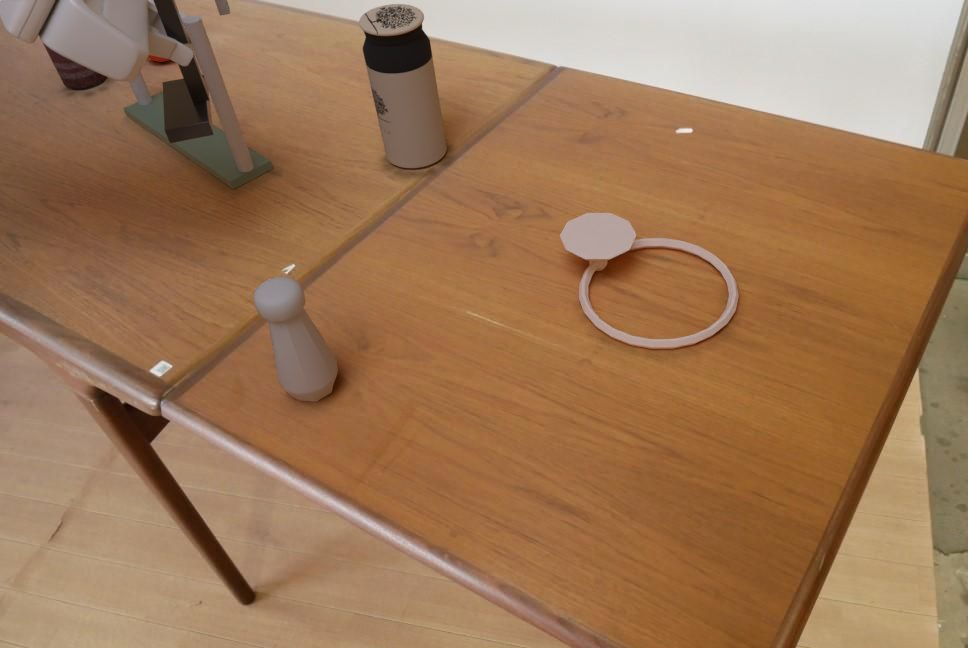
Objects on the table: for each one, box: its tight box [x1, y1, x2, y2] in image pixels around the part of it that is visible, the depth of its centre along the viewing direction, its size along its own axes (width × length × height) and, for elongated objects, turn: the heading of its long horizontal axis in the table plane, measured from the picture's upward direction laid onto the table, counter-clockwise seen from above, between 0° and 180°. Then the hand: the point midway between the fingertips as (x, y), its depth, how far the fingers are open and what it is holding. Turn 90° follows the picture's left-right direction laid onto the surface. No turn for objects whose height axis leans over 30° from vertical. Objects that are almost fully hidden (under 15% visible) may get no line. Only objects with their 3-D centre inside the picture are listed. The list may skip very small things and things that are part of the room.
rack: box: [122, 0, 274, 190], centre depth 107 cm, size 6×28×20 cm, turn 47°
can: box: [42, 42, 106, 91], centre depth 122 cm, size 6×6×14 cm
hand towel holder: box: [559, 212, 740, 350], centre depth 89 cm, size 17×4×20 cm
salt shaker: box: [253, 276, 339, 403], centre depth 78 cm, size 6×6×13 cm
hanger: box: [153, 0, 231, 143], centre depth 82 cm, size 9×10×13 cm
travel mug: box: [358, 3, 448, 169], centre depth 104 cm, size 8×8×18 cm
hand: (190, 50), depth 82 cm, fingers closed on hanger
